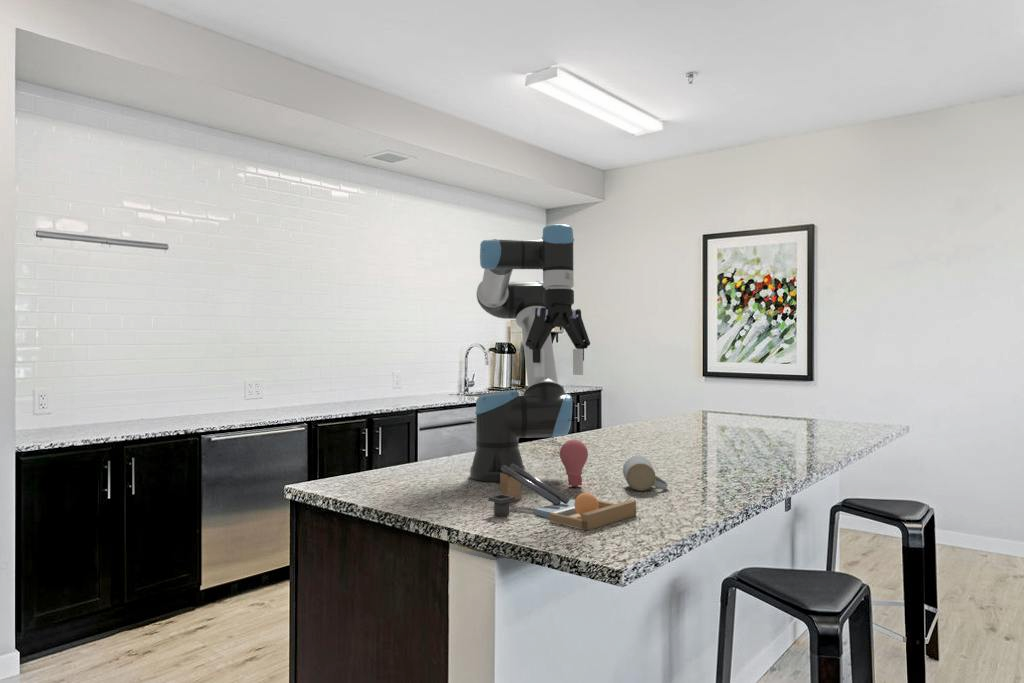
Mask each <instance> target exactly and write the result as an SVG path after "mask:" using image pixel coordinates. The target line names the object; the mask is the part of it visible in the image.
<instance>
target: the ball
mask: <svg viewBox="0 0 1024 683" xmlns="http://www.w3.org/2000/svg"><path fill="white" fill-rule="evenodd" d="M574 500H575V504H574V506H575V510H576V512H577V513H578V514H579V515H581V514H582V513H586V512H589V511H593V510H596V509H598V507H599V504H598V500H599V499H597V497H596V496H595V495H594V494H592V493H590V492H583V493H580V494H578V496H576V498H575V499H574Z"/></svg>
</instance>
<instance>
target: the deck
mask: <svg viewBox="0 0 1024 683" xmlns="http://www.w3.org/2000/svg"><path fill="white" fill-rule="evenodd" d="M575 500H576V499H569V502H568V503H567V504H565V503H563V502H561V503H560V505H559V506H556V505H554V504H553V503H551V504H549V505H545V506H541V507H537V508H535V509H534V515H535V516H538V517H539V516H540V517H543V518H548V519H550V513H556V514H561V515H565V516H567V515H571V514H575V513H577V512H576V510H575V506H574V504H575Z"/></svg>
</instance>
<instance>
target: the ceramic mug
mask: <svg viewBox="0 0 1024 683" xmlns="http://www.w3.org/2000/svg"><path fill="white" fill-rule="evenodd" d="M622 473H623V477H624V479H625V481H626V483H627V485H628V486H629V487H630V488H631V489H632V490H635V491H636V492H645V491H648V490H650V489H651V488H652V487H655V488H656V489H659V490H663V491H666V490H667V488H668V485H669V484H668V483H667V482H666V480H663V479H662V478H660V477H658V476H657V475H656V472H655V469H654V467H653V465H652V462H651V461H650V460H649V459H647V457H645V456H642V455H633V456H631V457H628V458H627V460H626V461H625V462H624V464H623V466H622Z"/></svg>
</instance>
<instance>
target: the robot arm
mask: <svg viewBox="0 0 1024 683" xmlns="http://www.w3.org/2000/svg"><path fill="white" fill-rule="evenodd" d="M574 241H575V239H574V229H573V227H572V226H571V225H568V224H559V223H558V224H557V223H556V224H548V225H545V226H544V227H543V228H542V237H541V239H497V238H493V239H484V240H482V241H481V242H480V245H479V264H480V267H481V269H484V270H483V275H482V279H481V281H480V283H478V286H477V288H476V301H477V302H478V304H479V305H480V307H481V308H482V309H483V311H485V312H486V313H487V314H489V315H491V316H493V317H496V318H498V319H499V318H500V319H504V320H505V319H506V320H510V319H511V320H513V319H514V320H515V322H516V325H517V326H518V327H519V328H521V333H522V335H521V336H522V341H523V342H522V343H523V344H522V345H523V350H524V351H523V352H524V360H525V370H526V380H527V387H526V388H525V390H524V392H523V395H520V393H519V392H518V390H516V389H515V390H514V389H512V390H502V391H495V392H489V393H485V394H484V393H483V394H482V395H480V396H478V398H476V403H475V405H476V406H475V415H476V416H475V418H476V420H475V426H476V427H475V430H476V432H475V434H476V436H475V437H476V439H475V442H476V445H475V446H476V448H475V452H474V456H473V461H472V464H471V465H470V469H469V470H470V471H469V477H470V478H471V479H473V480H476V481H481V482H496V483H497V482H499V483H500V473H504V472H503V471H502V470H501V467H502V465H505V466H507V467H508V468H509V466H510V465H511V464H512V463H513V464H515V465H516V466H518V467H519V468H521V469H523V470H524V471H526V467H525V465H524V463H523V459H522V455H521V452H520V449H519V440H520V439H521V438H525V439H526V438H555V437H557V438H558V437H559V438H560V437H565V436H567V435H568V434H569V432H570V429H571V424H572V418H573V417H572V416H573V397H572V395H571V394H568V393H566V394H565V389H564V387H563V385H561V384H560V383H559V382H558V376H557V374H558V373H557V370H556V361H555V355H554V347H553V342H552V341H553V340H552V334H551V333H552V332H553V331H552V330H554V329H555V328H562V329H564V331H565V332H566V334H567V336H568V337H569V339H570V341H571V343H572V344H573V345H574V348H572V374H573V375H575V376H583V375H584V362H585V349H588V347H589V346H590V345H591V342H590V339H589V336H588V333H587V330H586V327H585V324H584V321H583V318H582V310H581V309H580V308H574V309H572V306H573V305H574V303H575V292H574V289H572V288H573V287H574V283H575V282H574ZM513 270H542V281H540V280H536V281H510V280H511V277H512V274H513Z"/></svg>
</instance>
